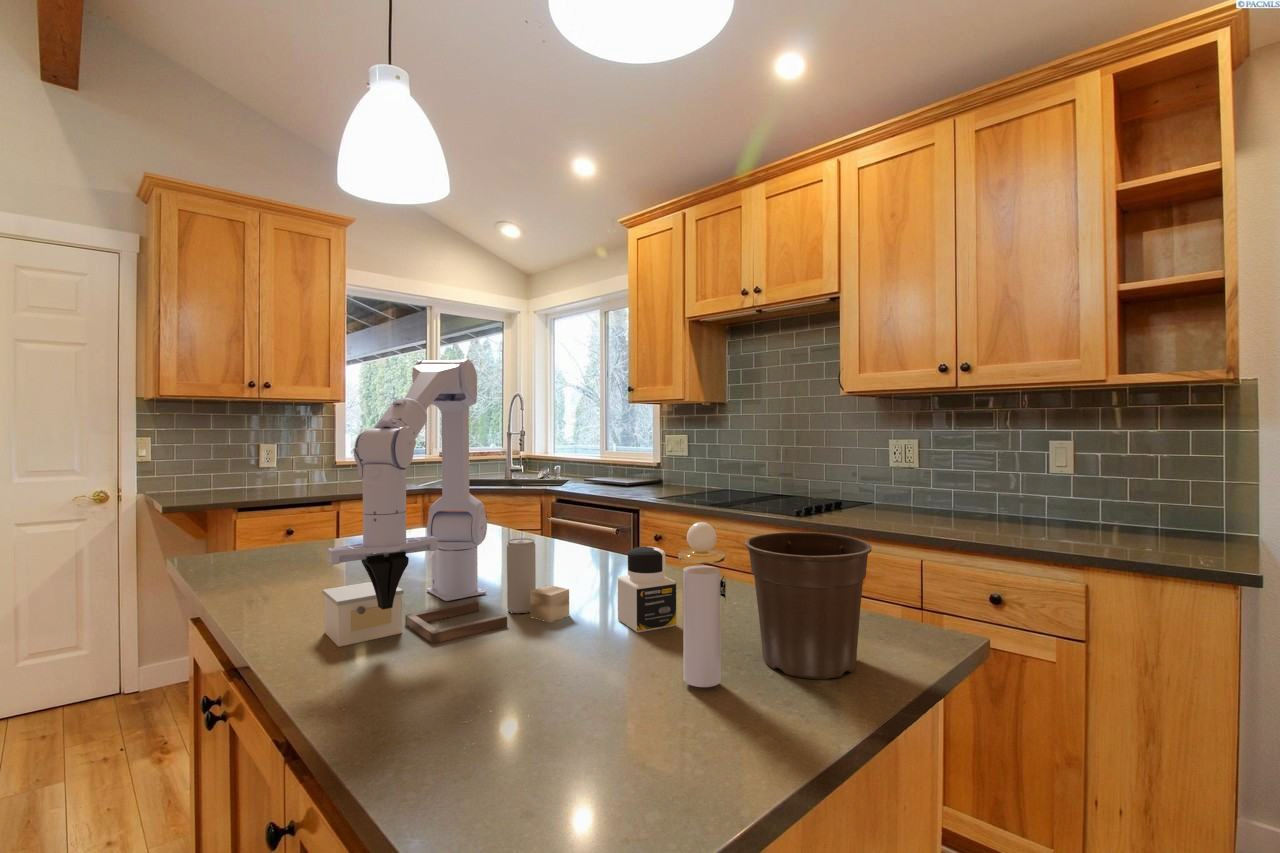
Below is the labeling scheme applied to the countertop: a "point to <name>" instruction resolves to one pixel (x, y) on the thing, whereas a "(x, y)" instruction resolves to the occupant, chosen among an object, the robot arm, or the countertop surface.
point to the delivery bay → (434, 636)
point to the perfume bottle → (702, 608)
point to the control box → (359, 614)
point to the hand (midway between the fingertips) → (385, 607)
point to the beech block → (549, 603)
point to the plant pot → (809, 600)
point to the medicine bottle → (646, 592)
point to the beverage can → (520, 574)
